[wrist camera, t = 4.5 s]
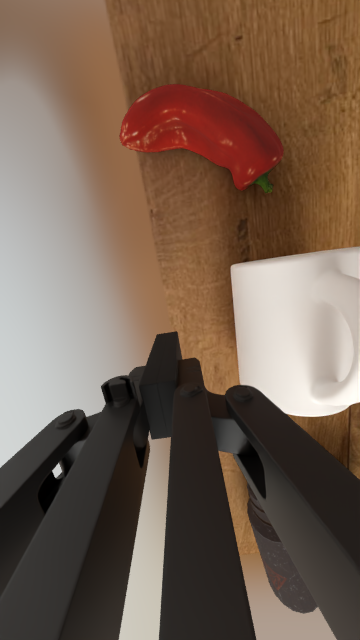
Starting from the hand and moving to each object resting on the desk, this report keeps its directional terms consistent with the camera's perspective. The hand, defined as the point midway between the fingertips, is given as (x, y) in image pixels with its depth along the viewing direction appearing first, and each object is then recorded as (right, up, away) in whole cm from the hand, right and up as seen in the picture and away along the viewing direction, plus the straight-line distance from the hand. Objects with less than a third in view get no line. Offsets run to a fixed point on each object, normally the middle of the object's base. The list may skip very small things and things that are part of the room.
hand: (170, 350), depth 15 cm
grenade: (+10, -16, +8) cm, 20 cm away
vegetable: (+8, +13, 0) cm, 15 cm away
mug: (+9, +3, +5) cm, 11 cm away
